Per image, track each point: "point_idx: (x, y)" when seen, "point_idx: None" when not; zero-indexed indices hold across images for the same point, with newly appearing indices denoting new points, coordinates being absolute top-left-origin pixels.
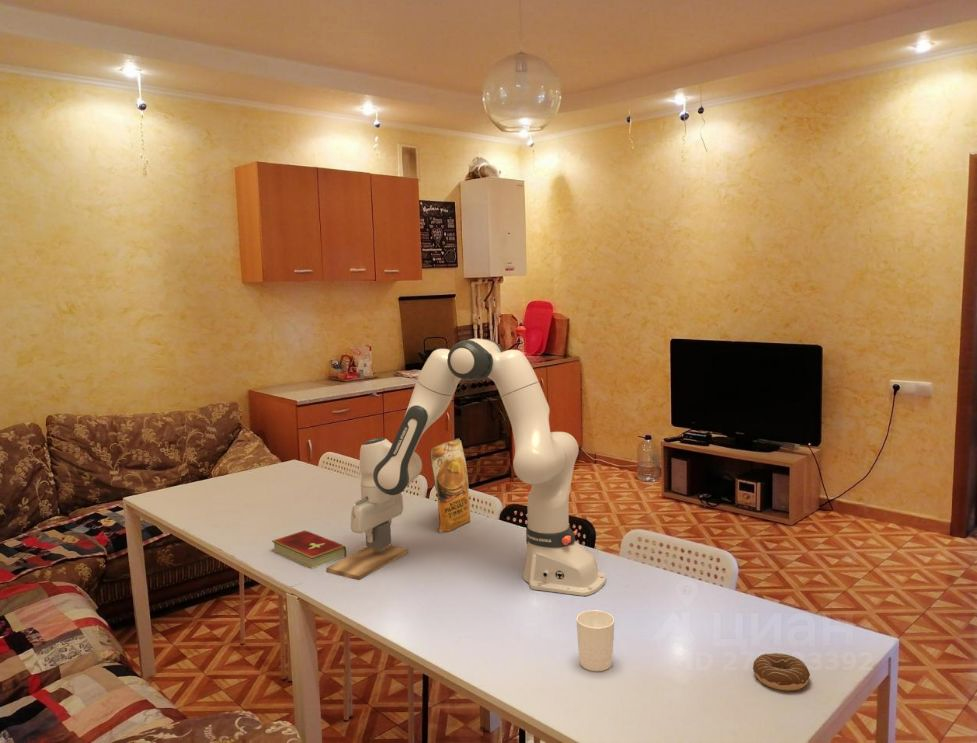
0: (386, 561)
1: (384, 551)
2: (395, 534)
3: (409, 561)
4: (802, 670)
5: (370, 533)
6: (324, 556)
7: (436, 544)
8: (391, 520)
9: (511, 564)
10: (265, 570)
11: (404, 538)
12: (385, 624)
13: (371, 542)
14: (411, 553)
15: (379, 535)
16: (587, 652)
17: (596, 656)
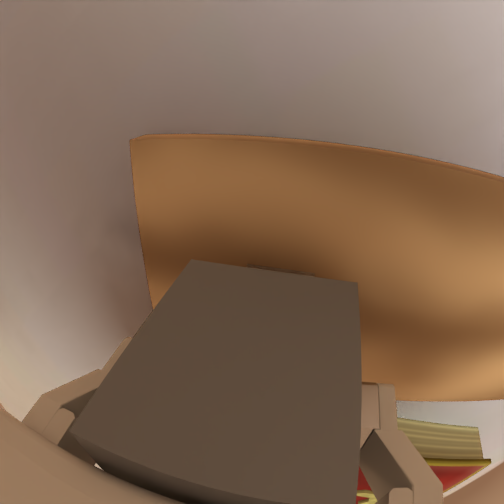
0: (409, 159)
1: (255, 267)
2: (53, 318)
3: (271, 20)
4: None
5: (426, 473)
6: (441, 451)
7: (11, 82)
8: (34, 406)
9: None
10: (474, 476)
11: (47, 267)
12: None
13: (390, 385)
14: (143, 103)
15: (359, 398)
16: None
17: None
